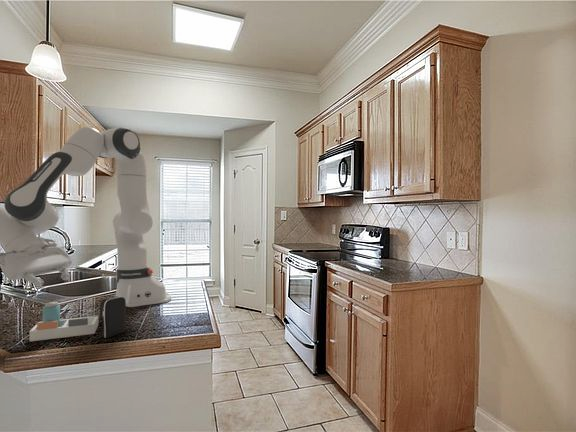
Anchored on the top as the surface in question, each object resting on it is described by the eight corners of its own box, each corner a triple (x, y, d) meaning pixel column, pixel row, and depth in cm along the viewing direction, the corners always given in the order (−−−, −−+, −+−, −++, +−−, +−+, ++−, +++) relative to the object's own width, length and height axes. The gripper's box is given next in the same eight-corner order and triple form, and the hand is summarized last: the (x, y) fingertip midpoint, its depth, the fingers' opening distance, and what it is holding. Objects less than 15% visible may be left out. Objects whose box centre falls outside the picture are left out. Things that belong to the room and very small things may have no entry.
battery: (118, 330, 108) (117, 294, 108) (126, 331, 106) (126, 295, 106) (97, 337, 101) (97, 299, 101) (106, 339, 100) (106, 300, 100)
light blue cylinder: (61, 329, 107) (61, 300, 107) (58, 333, 103) (58, 304, 103) (44, 331, 105) (44, 302, 105) (40, 335, 101) (40, 305, 101)
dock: (98, 324, 113) (98, 309, 113) (94, 333, 104) (94, 317, 104) (38, 331, 106) (38, 315, 106) (29, 341, 98) (29, 324, 98)
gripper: (-2, 246, 95) (28, 281, 93) (59, 239, 115) (85, 268, 113) (-15, 262, 96) (16, 297, 94) (49, 252, 116) (74, 281, 114)
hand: (54, 281), depth 104 cm, fingers open, 8 cm apart
